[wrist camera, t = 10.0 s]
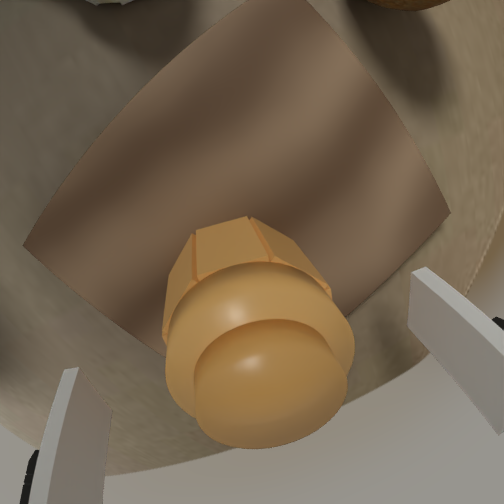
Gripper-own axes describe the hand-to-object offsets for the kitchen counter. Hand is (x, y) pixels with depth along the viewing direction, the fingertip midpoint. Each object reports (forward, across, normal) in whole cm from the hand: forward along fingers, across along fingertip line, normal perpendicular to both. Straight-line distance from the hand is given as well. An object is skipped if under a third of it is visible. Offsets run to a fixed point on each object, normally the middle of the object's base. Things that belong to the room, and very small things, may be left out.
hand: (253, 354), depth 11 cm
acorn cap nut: (+5, 0, 0) cm, 5 cm away
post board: (+7, +2, +3) cm, 8 cm away
